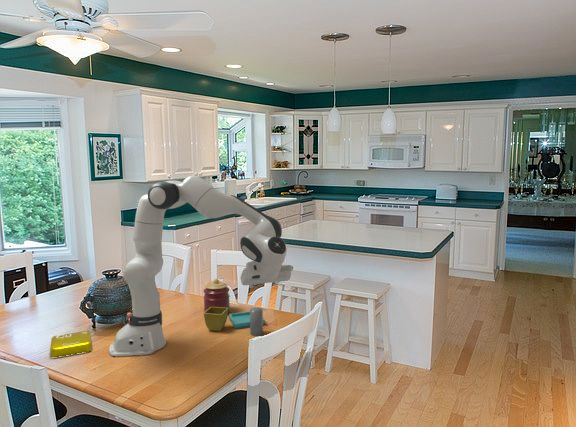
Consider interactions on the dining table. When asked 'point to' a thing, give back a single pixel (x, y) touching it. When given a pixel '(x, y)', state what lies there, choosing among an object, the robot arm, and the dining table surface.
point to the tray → (241, 320)
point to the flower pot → (215, 318)
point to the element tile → (71, 344)
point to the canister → (216, 295)
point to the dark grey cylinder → (256, 321)
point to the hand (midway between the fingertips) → (263, 285)
